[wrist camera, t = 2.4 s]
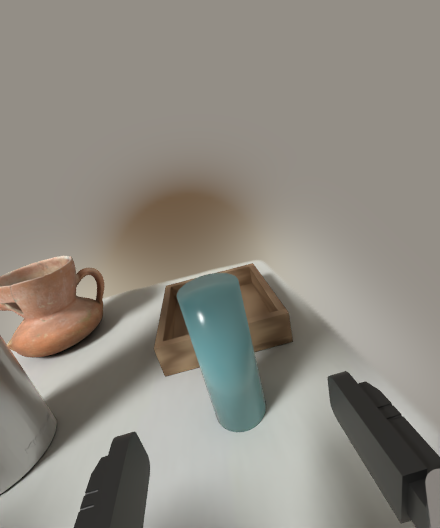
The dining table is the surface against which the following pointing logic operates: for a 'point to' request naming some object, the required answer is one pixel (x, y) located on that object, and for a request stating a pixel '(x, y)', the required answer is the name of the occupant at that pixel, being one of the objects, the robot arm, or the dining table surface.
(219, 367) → the teal canister
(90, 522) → the robot arm
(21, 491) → the dining table surface
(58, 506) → the dining table surface
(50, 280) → the ceramic jug
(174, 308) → the walnut crate
